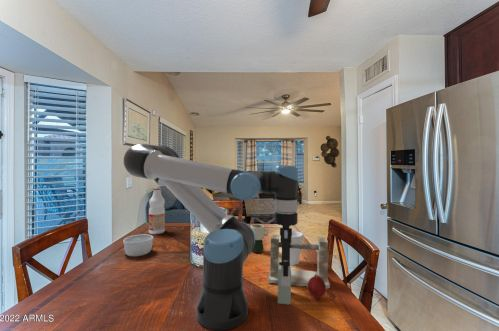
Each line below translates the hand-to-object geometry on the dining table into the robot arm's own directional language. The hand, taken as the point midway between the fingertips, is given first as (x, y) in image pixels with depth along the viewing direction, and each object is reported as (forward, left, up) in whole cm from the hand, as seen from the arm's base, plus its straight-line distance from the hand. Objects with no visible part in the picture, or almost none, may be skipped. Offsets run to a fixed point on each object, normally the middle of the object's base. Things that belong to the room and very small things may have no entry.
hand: (285, 275), depth 80 cm
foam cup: (+3, +29, -8) cm, 30 cm away
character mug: (-14, +39, -8) cm, 42 cm away
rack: (+5, +13, -7) cm, 16 cm away
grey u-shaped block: (0, 0, -7) cm, 7 cm away
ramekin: (-71, +26, -8) cm, 76 cm away
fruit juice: (-80, +58, -8) cm, 99 cm away
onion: (+10, +2, -8) cm, 13 cm away
